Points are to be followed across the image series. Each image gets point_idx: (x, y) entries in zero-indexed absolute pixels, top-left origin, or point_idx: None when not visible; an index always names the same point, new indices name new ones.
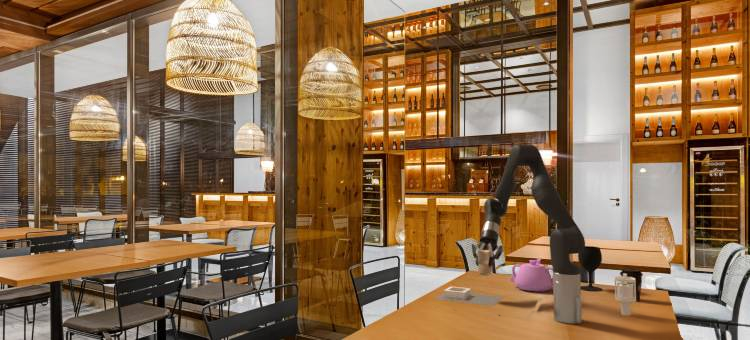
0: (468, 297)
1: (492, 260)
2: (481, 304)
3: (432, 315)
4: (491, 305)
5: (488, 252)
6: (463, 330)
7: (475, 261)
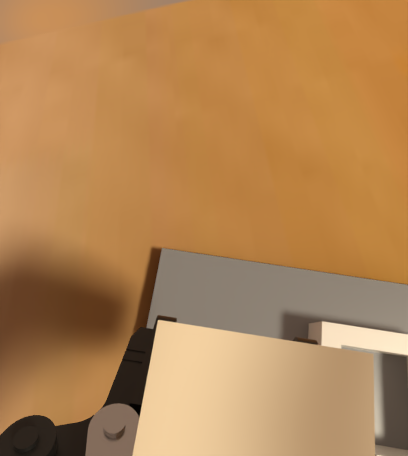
0: None
1: (119, 367)
2: (215, 257)
3: (364, 110)
4: (169, 254)
5: (158, 333)
6: (232, 10)
7: None
